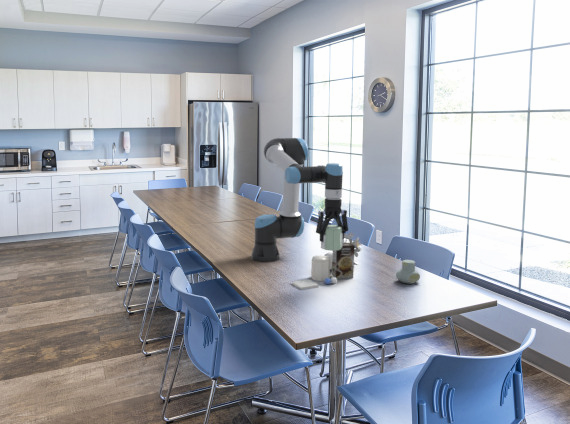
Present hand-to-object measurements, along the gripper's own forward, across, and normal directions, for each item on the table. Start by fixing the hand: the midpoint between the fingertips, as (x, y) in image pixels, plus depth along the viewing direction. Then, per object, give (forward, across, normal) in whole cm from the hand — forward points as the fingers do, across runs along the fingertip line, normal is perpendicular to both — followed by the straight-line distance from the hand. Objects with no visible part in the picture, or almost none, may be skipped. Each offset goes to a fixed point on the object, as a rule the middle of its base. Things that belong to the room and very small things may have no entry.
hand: (331, 247), depth 237 cm
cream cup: (+17, 0, +9) cm, 20 cm away
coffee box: (+17, +11, +7) cm, 22 cm away
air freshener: (+17, +35, -12) cm, 41 cm away
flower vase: (+17, +20, +22) cm, 35 cm away
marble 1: (+17, -2, 0) cm, 17 cm away
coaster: (+17, -12, +2) cm, 21 cm away
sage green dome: (0, 0, 0) cm, 0 cm away
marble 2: (+17, +2, 0) cm, 17 cm away
